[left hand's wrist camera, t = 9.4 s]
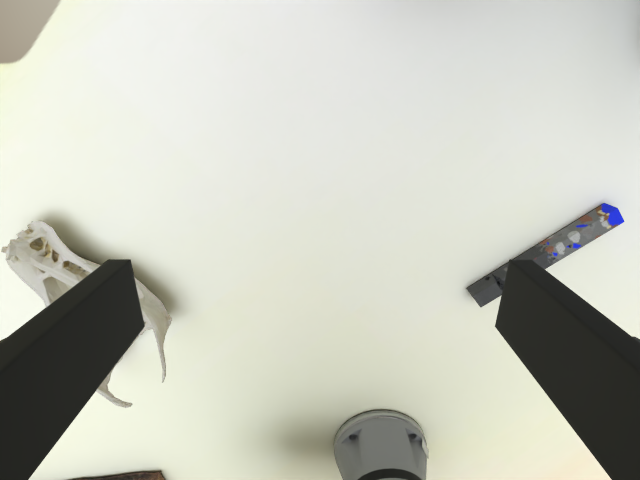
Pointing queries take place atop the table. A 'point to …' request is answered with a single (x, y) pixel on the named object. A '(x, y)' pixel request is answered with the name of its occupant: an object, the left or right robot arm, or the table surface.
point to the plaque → (133, 477)
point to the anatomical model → (73, 282)
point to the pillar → (552, 249)
